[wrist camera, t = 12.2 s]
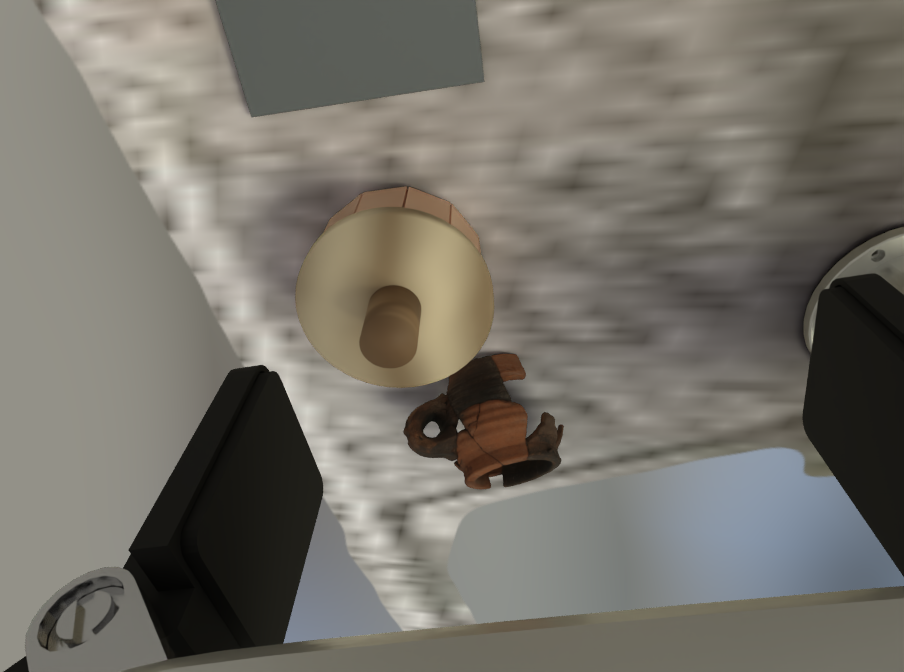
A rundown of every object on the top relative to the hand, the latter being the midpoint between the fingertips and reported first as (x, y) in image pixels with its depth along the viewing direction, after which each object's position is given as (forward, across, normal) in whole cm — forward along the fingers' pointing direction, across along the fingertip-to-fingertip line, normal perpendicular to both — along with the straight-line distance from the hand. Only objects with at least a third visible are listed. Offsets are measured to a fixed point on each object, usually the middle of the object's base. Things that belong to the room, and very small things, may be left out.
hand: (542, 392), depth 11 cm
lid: (+25, +8, +11) cm, 28 cm away
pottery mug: (+30, +4, +24) cm, 39 cm away
